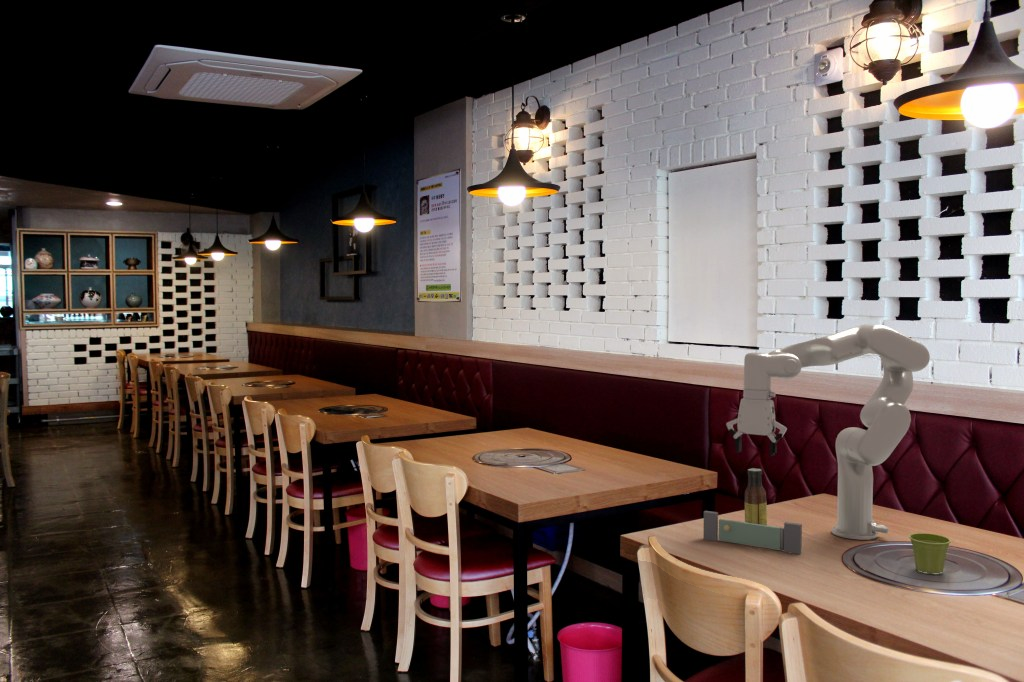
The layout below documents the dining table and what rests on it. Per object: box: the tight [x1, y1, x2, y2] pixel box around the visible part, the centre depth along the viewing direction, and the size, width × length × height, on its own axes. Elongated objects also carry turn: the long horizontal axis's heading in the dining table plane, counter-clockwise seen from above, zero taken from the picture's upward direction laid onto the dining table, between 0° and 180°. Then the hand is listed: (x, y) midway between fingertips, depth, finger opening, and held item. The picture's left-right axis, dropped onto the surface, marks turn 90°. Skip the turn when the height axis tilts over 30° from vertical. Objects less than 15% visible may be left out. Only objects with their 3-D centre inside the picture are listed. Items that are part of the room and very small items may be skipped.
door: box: [718, 518, 784, 551], centre depth 225 cm, size 18×3×6 cm, turn 58°
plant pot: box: [908, 532, 952, 573], centre depth 204 cm, size 9×9×9 cm
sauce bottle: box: [744, 467, 768, 526], centre depth 235 cm, size 7×6×20 cm
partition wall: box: [702, 510, 803, 555], centre depth 226 cm, size 27×2×8 cm, turn 58°
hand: (755, 453), depth 234 cm, fingers open, 9 cm apart
